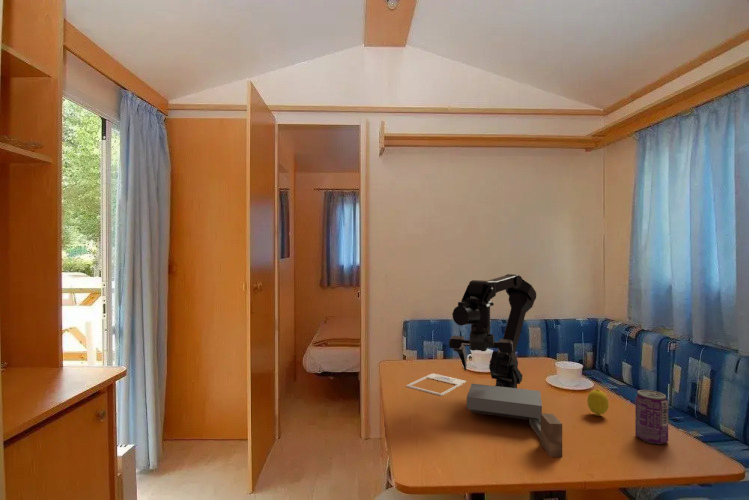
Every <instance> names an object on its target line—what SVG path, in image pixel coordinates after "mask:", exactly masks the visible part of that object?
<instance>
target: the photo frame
mask: <svg viewBox="0 0 749 500" xmlns="http://www.w3.org/2000/svg"><path fill="white" fill-rule="evenodd" d="M426 379H429V380H432V379H434V380H433V381H437V380H438V382H441V381H442V382H441V383H445V382H446V383H445V384H449V383H450V385H453V384H455V385H454V386H452V387H450V388H447V390H445V391H443V392H441V393H440V392H437V391H433V390H429V389H424V388H422V387H418V386H417V387H416V386H415V385H416V384H417V383H420V382H421V381H424V380H426ZM465 382H466V383H467V380H463V379H459V378H456V377H450V376H446V375H443V374H438V373H434V372H433V373H430V374H428V375H426V376H423V377H421V378H419V379H416V380H415V381H412V382H410V383H409V384H406V385H405V386H406V388H409V389H413V390H417V391H421V392H424V393H429V394H433V395H435V396H440V397H443V396H445V395H446V394H448V393H449V392H451V391H453V390H455V389H457V388H458V387H460V386H462V385H463V383H464V384H465ZM456 387H457V388H456ZM442 395H443V396H442Z"/></svg>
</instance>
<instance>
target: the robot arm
mask: <svg viewBox="0 0 749 500" xmlns="http://www.w3.org/2000/svg"><path fill="white" fill-rule="evenodd" d="M503 291H505V292H506V294H507V295H508V302H509V306H510V310H509V315H508V318H507V322H506V326H505V330H504V334H503V337H502V338H499V340H498V341H495V337H494V334H492V333H491V307H492V306H494V305H495V304H494V302H493V301H492V299H494V298H495V297H496V296H497V293H500V292H503ZM536 299H537V291H536V290H535V289H534V287H533V286H532V284H531V283H529V282H527V281H526V280H524V279H523V277H522V276H521V275H519V274H512V273H511V274H510V273H509V274H508V273H507V274H505V275H502V276H499V277H495V278H492V279H489V280H478V279H474V280H470V281H469V282H468V284H467V287H466V289H465V291H464V293H463V296H462V298H461V301H458V303H457V306H455V307H454V309H453V312H452V315H451V316H452V320H453V322H454V323H455V324H456V325H457V326H466V325H467V326H468V325H470V334H469V339H465V337H464V336H463V335H452V336H451V337H450V338H449V340H448V348H450V349H452V350H453V352H456V353H457V355H458V356H459V358H460V360H461V363H462V367H463V370H464V372H465V371H467V366H468V365H467V353H466V347H469V350H471V351H481V352H486V351H487V350H488V348H490V349H497V351H496V350H493V351H492V353H491V358H490V360H489V364H488V366H489V367H488V369H489V372H490V376H491V379H493V380H495V385H494V386H500V387H509V388H518V385H520V384H521V382H522V381H523V374H522V372H521V370H520V369H519V368H518V366H519V361H518V358H517V355H516V353H517V352H516V351H517V348H518V343H519V342H520V337H521V332H522V329H523V326H524V321H525V317H526V314H527V312H528V311H530V310H531V309H532V308H533V306H534V304H535V301H536Z"/></svg>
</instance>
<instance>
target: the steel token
mask: <svg viewBox="0 0 749 500" xmlns="http://www.w3.org/2000/svg"><path fill="white" fill-rule="evenodd" d="M534 419H535V420H536V422H537V423H538V424H539V425H540V427H541V419H539V418H534Z"/></svg>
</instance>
